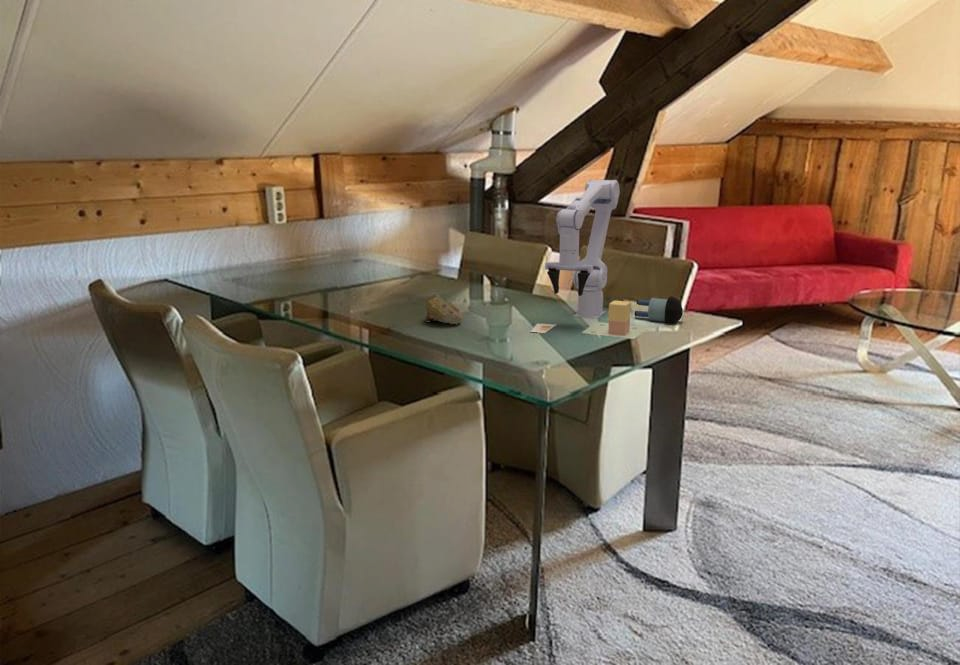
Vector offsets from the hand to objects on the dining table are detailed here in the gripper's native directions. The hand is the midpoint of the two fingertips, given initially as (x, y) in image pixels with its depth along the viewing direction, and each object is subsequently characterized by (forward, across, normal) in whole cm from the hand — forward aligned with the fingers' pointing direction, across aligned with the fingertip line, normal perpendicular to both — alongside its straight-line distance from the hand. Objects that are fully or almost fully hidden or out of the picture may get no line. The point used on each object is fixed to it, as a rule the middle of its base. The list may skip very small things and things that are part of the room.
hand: (568, 294), depth 224 cm
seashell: (+11, -38, -10) cm, 41 cm away
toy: (+11, +24, +17) cm, 31 cm away
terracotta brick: (+10, +16, -1) cm, 19 cm away
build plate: (+10, +14, +1) cm, 18 cm away
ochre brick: (+6, +16, -1) cm, 17 cm away
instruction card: (+10, -6, -5) cm, 13 cm away
